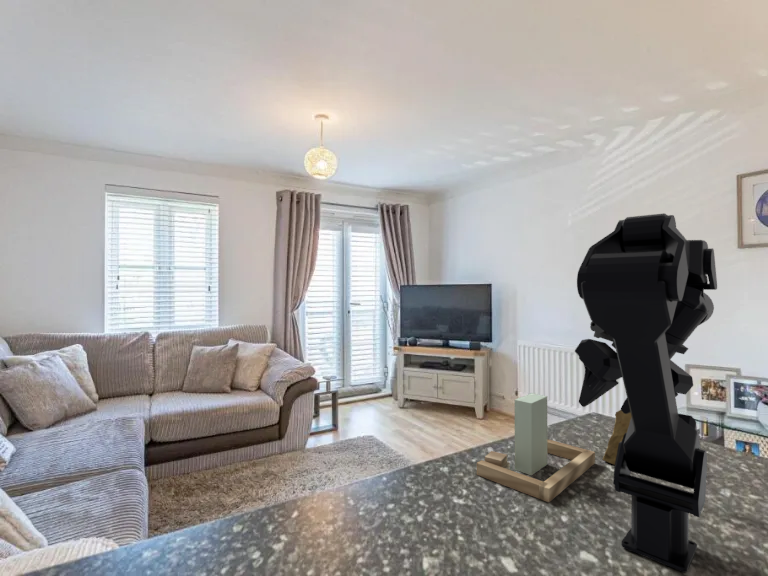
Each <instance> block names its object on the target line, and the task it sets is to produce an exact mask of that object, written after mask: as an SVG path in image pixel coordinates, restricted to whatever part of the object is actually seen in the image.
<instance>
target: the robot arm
mask: <svg viewBox="0 0 768 576" xmlns="http://www.w3.org/2000/svg"><path fill="white" fill-rule="evenodd" d="M576 288H577V294H578V296H579V298H580V299H582V300H583V303H584V305H585V308H586V311H587V314H588V316H589V319H590V321H591V322H590V323H589V324H590V327H589V328H590V331H592V332H594V333H593V337H594V338H597V339H600V338H601V339H603V340H606V341H609V342H612V343H611V345H609V344H608V343H606V342H603V341H600V340H595V339H593V338H592V339H590V338H587V339H582V340H581V341H580V342H579V344H578V345H577V346H576V347H575V349H574V353H575V354H576V355H577V356H578V359H579V361H580V362H581V363H583V367H584V378H583V382H582V385H581V391H580V394H579V398H578V403H579V405H581V407H582V408H585V407H587V406H589V405H591V404H592V403H594V402H595V401H596V400H597V399H599V398H600V397H602V396H603V395H605V394H606V393H607V392H610V390H611V389H614V388H615V387H616V386H617V385H619V384H620V383H619V381H618V380H619V379H622V382H623V385H624V389H625V395H626V398H625V400H624V402H623V403H622V405H621V407H620V410H621V411H622V412H623V413H625V414H628V413H630V412H631V416H632V417H631V420H630V424H629V427H628V431H627V433H625V434H624V436H623V439H622V441H621V442H620V443H619V445H618V450H617V456H616V461H615V465H614V468H613V485H614V490H615V492H617V493H622V494H626V495H630V496H631V498H630V499H631V509H630V511H631V517H630V518H631V522H630V525H631V527H630V529H629V530H628V532H627V533H626V534H625V536H624V537H623V539H622V540H621V547H622V548H624V549H625V550H628V551H631V552H633V553H636V554H638V555H641V556H643V557H646V558H648V559H650V560H652V561H656V563H657V562H658V563H660V564H662V565H664V566H668V567H670V568H672V569H675V570H677V571H680V572H682V573H687V572H688V570H689V568H690V566H691V564H692V561H693V559H694V557H695V554H696V552H697V549H698V544H697V543H696V542H695V541H693V540H690V539H689V528H690V527H689V526H690V525H689V521H690V520H689V517H690V516H689V514H690V515H693V516H694V517H696V518H700V517H701V514H702V513H703V508H704V506H705V503H706V496H707V495H706V492H707V472H708V453H707V450H705V449H701V441H700V438H699V432H698V427H697V421H696V419H695V418H694V417H693V416H692V415H690V414H689V415H688V414H682V413H679V411H678V405H677V399H676V397H677V396H679V394H681V395H685V396H686V395H687V393H689V392H690V390H691V389H692V388H693V387H694V380H693V376H692V375H690V374H689V373H688V372H687V371H685V370H684V369H683V368H682V367H680V366H679V365H678V364H677V363H675V362H674V361H673V360H672V358H674V356H675V354H677V353H678V354H682V355H685V354H686V353H687V351H688V350H689V348H688V347H687V346H685V345H684V343H686V341H687V340H688V339H689V337H690V336H691V335H692V334H693V332H694V331H695V330H696V329H697V328H698V327H699V326H700V325H702V324H704V323H705V322H707V321H708V320H709V319H711V317H712V315H713V313H714V309H715V307H714V306H715V305H714V303H713V300H712V299H711V297H710V296H709V295H708V294H707V293H705V291H704V290H710V291H711V290H714V291H715V290H718V279H717V267H716V259H715V250H714V248H709V246H708V242H707V241H706V240H703V239H687V238H685V236H684V235H683V234H682V233H681V232H680V230H679V229H678V228H677V221H676V217H675V215H673V214H672V215H671V214H670V215H668V214H666V213H656V214H646V215H645V214H644V215H637V216H635V215H634V216H627V217H625V219H619V220H618V222H617V224H616V226H615V228H614V230H613V231H612V232H610V233H609V234H607V235H606V236H604V237H603V238H602V239H600V240H598V241H597V242H596V243H594V244H592V245H591V246H590V247H589V248H588V250H587V251H586V254H585V256H584V258H583V260H582V263H581V264H580V267H579V268H578V271H577V276H576ZM611 346H612V347H613V348H614V349H613V348H612V347H611ZM631 472H632V473H635V474H638V475H642V476H646V477H650V478H652V479H655V480H656V479H657V480H659V481H663V482H667V483H671V484H675V485H678V486H681V487H686V488H689V489H692V490H693V492H690V491H687V490H684V489H680V488H677V487H673V486H671V485H670V486H669V485H666V484H663V483H659V482H656V481H652V480H648V479H645V478H641V477H639V476H634V475H632V474H631Z"/></svg>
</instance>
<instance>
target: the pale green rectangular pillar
mask: <svg viewBox="0 0 768 576" xmlns="http://www.w3.org/2000/svg"><path fill="white" fill-rule="evenodd" d="M547 439H548V396H547V395H543V394H538V393H532V392H531V393H528V394H525V395H523V396H520V397H518V398H516V399H514V470H515V471H517V472H519V473H524V474H525V475H527V476H528V475H529V476H533V475H534V474H535V473H537V472H538V471H540V470H542V469H543V468H544V467H546V466H547V465H548V453H547Z"/></svg>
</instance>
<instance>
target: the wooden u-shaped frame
mask: <svg viewBox="0 0 768 576" xmlns="http://www.w3.org/2000/svg"><path fill="white" fill-rule="evenodd" d="M547 454H550V455H554V456H557V457H559V458H560V457H561V458H564V459H568V460H570V461H569V462H568V463H566V464H565V465H564V466H563V467H561V468H560V469H559V470H557V471H556V472H554V473H553V474H552V475H551V476H550V477H548V478H547V479H546V480H544V481H542V480H539V479H537V478H534V477H531V476H528V475H527V474H522V473H521V472H518V471H517V472H516V471H514V470H511V469H510V470H508V469H506V468H503V467H500V466H497V465H494V464H491V463H488V462H486V461H485V460H482V459H481V460H479V461H477V462H476V475H477V476H478V477H481V478H484V479H487V480H489V481H491V482H495V483H498V484H499V485H502V486H505V487H507V488H510V489H513V490H515V491H518V492H521V493H523V494H525V495H528V496H531V497H534V498H536V499H539V500H542V501H544V502H547V503H551V502H552V501H553V500H554V499H555V498H556V497H557V496H559V495H560V494H561V493H562V492H564V490H565V489H567V488H568V487H569V486H570V485H571V484H572V483H573V482H575V481H576V480H577V479H579V478H580V477H581V476H582V475H583V474H584V473H585V472H586V471H588V470H589V469H590V468H591V467H593V466H594V465H595V464H596V452H595V451H593V450H590V449H589V450H588V449H585V448H581V447H577V446H574V445H570V444H568V443H564V442H560V441H556V440H552V439H548V438H547Z"/></svg>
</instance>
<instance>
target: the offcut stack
mask: <svg viewBox="0 0 768 576" xmlns="http://www.w3.org/2000/svg"><path fill="white" fill-rule="evenodd" d="M484 461H486V462H488V463H491V464H494V465H497V466H500V467H503V468H506V469H508V470H511V465H510V464H511V463H510V462H509V461H508V454H506V453H501V452H498V451H494V450H491V451H489V452H488V453H487V454H486V455H485V456H484Z"/></svg>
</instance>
